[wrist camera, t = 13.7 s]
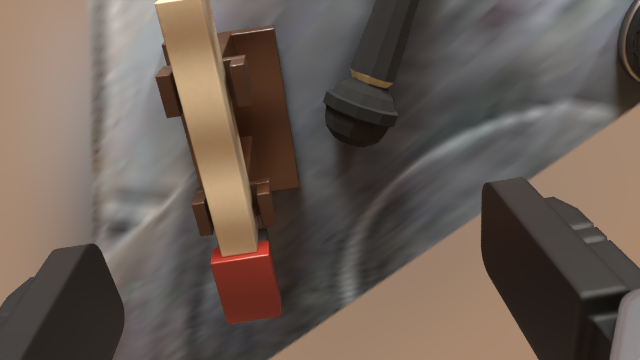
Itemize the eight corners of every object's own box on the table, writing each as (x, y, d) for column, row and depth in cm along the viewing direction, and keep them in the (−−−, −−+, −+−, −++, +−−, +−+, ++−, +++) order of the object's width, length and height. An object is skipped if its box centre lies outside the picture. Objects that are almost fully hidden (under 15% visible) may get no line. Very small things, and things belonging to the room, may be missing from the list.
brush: (152, -4, 26) (137, 6, 23) (220, -14, 26) (213, -5, 23) (231, 290, 36) (227, 325, 33) (281, 283, 36) (282, 316, 33)
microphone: (408, -143, 35) (321, 126, 41) (407, -178, 30) (307, 138, 36) (483, -120, 35) (384, 148, 41) (497, -151, 29) (380, 164, 35)
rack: (163, 37, 36) (124, 81, 27) (273, 22, 37) (273, 59, 27) (205, 194, 43) (186, 275, 33) (299, 180, 43) (306, 257, 33)
